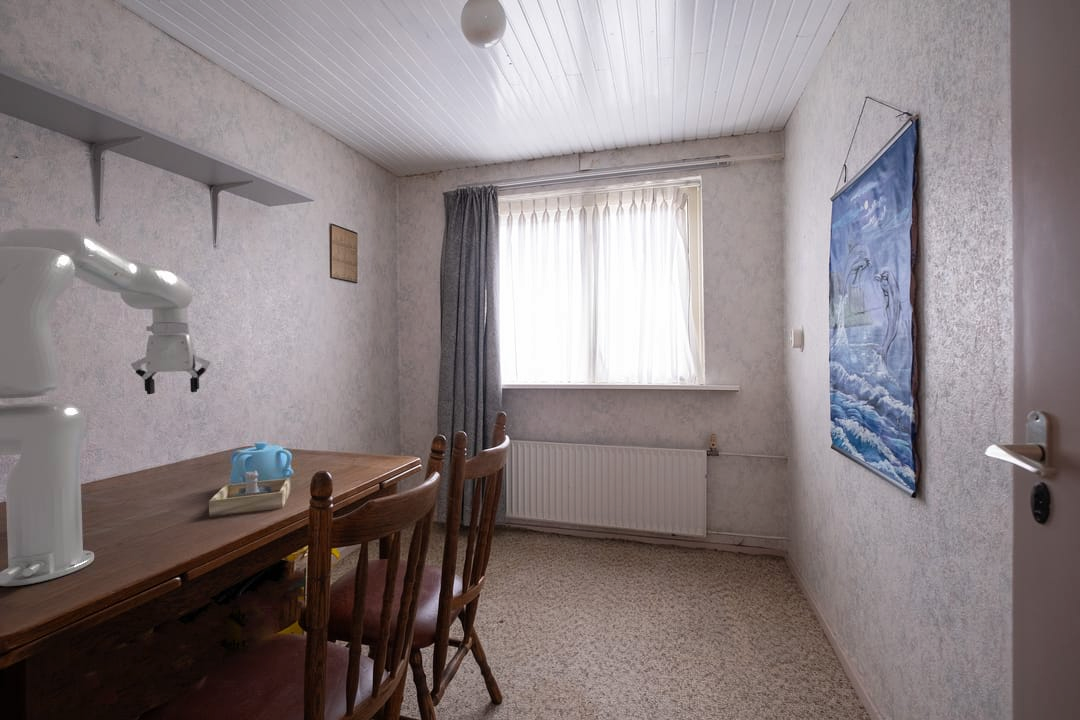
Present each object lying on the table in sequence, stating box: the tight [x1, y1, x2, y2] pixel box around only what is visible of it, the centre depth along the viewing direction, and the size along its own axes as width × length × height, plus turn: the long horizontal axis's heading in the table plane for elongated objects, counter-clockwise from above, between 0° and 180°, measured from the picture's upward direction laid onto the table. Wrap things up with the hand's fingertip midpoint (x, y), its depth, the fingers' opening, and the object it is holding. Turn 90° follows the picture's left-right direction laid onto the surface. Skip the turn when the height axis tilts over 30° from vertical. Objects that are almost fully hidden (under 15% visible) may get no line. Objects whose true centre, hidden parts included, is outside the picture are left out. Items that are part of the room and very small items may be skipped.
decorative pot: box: [229, 441, 294, 484], centre depth 142 cm, size 16×16×14 cm
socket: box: [233, 485, 272, 497], centre depth 125 cm, size 8×8×3 cm
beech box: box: [208, 477, 291, 518], centre depth 125 cm, size 16×16×4 cm
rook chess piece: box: [245, 471, 259, 493], centre depth 124 cm, size 4×4×8 cm
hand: (172, 392), depth 126 cm, fingers open, 9 cm apart
